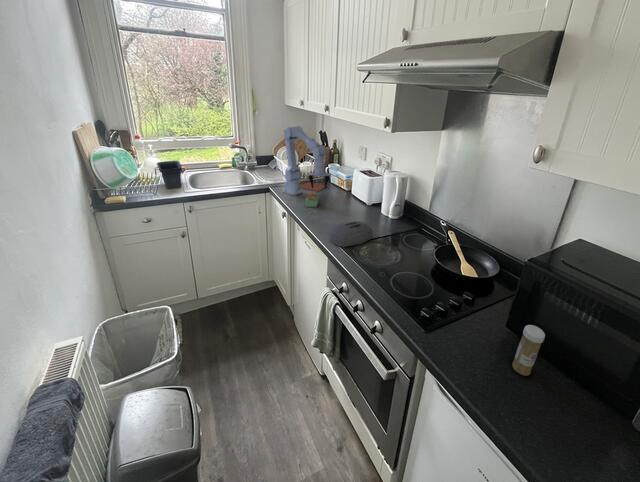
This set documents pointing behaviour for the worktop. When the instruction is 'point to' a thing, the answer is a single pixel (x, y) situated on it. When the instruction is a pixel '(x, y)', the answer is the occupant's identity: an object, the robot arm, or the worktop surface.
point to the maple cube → (311, 195)
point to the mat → (315, 186)
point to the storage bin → (170, 173)
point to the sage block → (311, 202)
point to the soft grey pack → (351, 233)
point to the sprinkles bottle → (528, 349)
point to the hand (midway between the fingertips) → (318, 187)
